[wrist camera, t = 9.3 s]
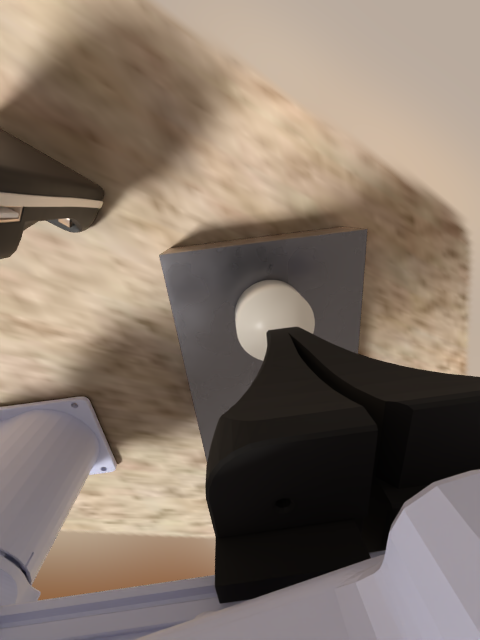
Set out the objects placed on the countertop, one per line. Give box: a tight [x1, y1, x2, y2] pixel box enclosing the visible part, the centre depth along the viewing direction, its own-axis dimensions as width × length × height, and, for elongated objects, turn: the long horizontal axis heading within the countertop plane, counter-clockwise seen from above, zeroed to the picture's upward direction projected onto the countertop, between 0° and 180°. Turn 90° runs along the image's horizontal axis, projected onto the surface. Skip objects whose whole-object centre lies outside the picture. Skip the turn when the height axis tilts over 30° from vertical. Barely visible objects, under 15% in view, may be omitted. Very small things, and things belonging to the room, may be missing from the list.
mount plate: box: [159, 227, 367, 461], centre depth 19 cm, size 11×23×3 cm, turn 7°
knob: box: [235, 280, 315, 361], centre depth 15 cm, size 4×4×5 cm
